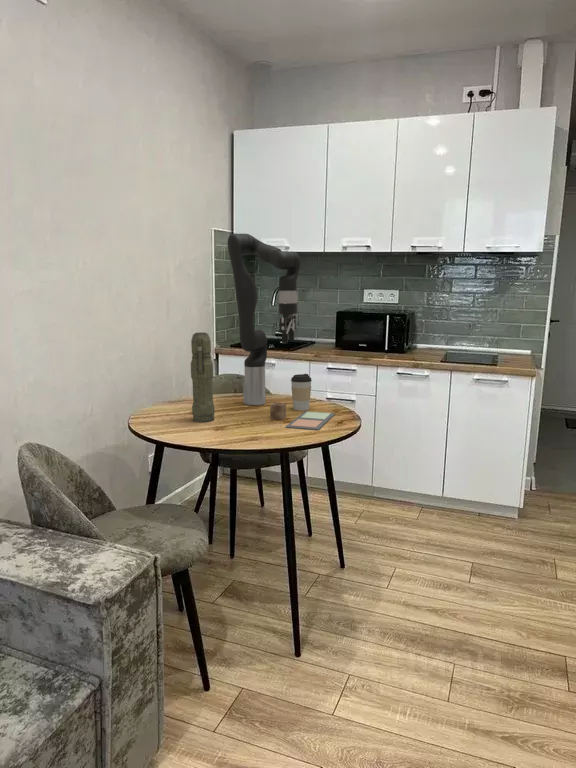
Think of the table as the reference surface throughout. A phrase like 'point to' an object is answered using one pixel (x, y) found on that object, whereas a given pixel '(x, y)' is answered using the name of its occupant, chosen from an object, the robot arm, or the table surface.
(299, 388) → the coffee cup
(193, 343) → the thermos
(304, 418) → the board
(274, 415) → the walnut block
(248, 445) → the table surface
